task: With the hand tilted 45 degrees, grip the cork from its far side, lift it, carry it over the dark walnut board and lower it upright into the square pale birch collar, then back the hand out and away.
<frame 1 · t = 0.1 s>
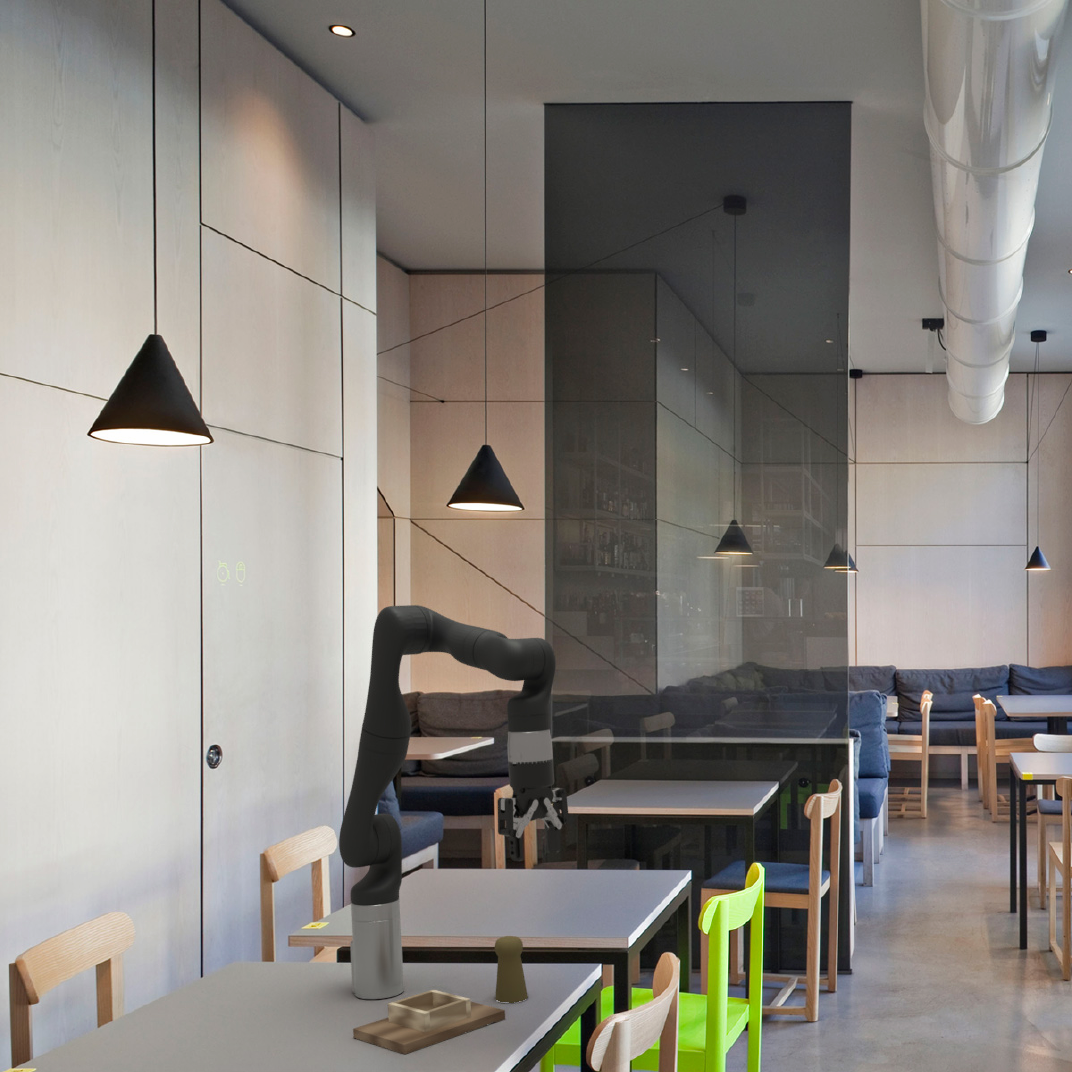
hand: (535, 856, 203), 29 cm above the table, tool pointing down, fingers open, 8 cm apart
collar board: (430, 1028, 209), on the table
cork: (511, 999, 224), on the table
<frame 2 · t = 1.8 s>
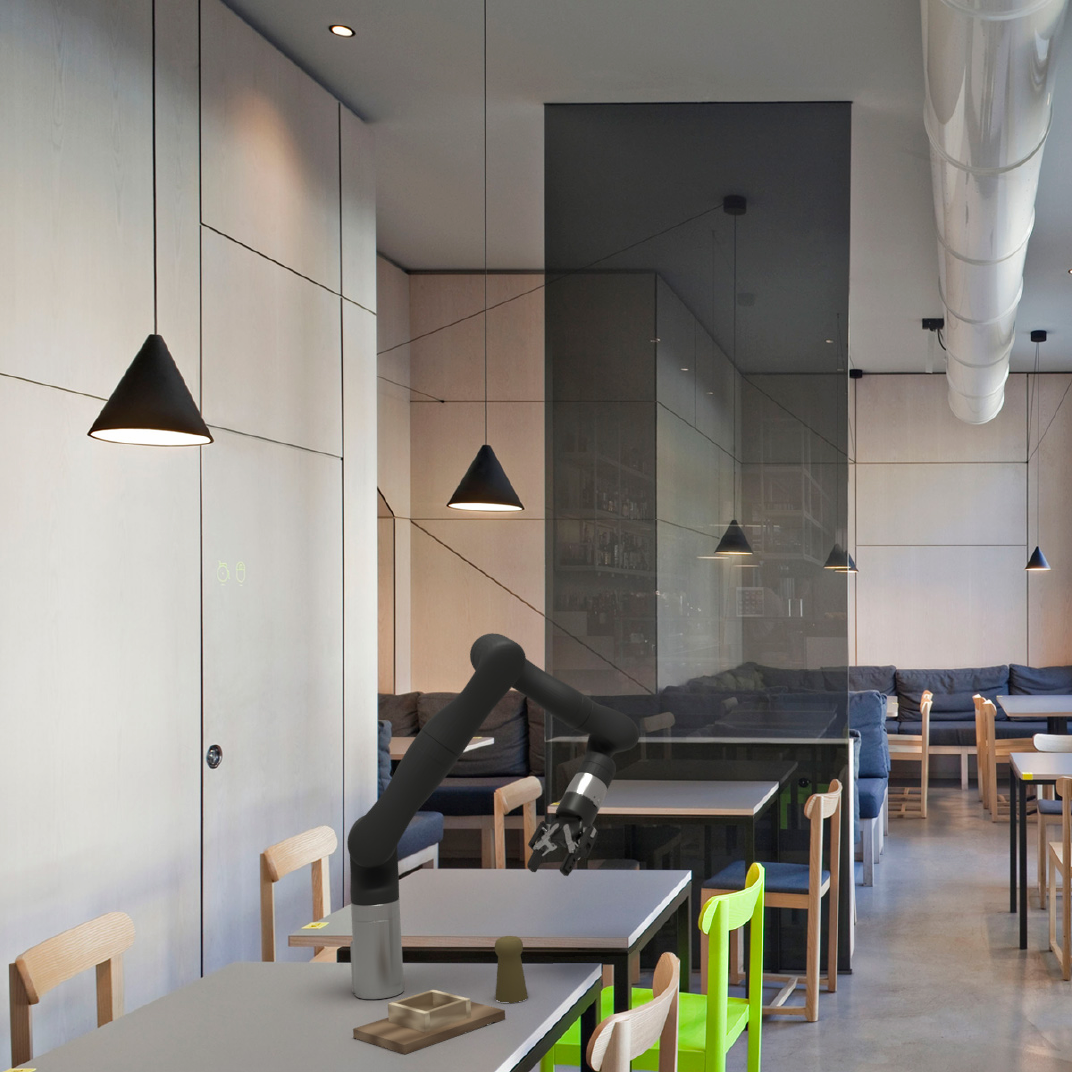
hand: (547, 871, 234), 21 cm above the table, tool tilted 45°, fingers open, 8 cm apart
nothing on the table moved.
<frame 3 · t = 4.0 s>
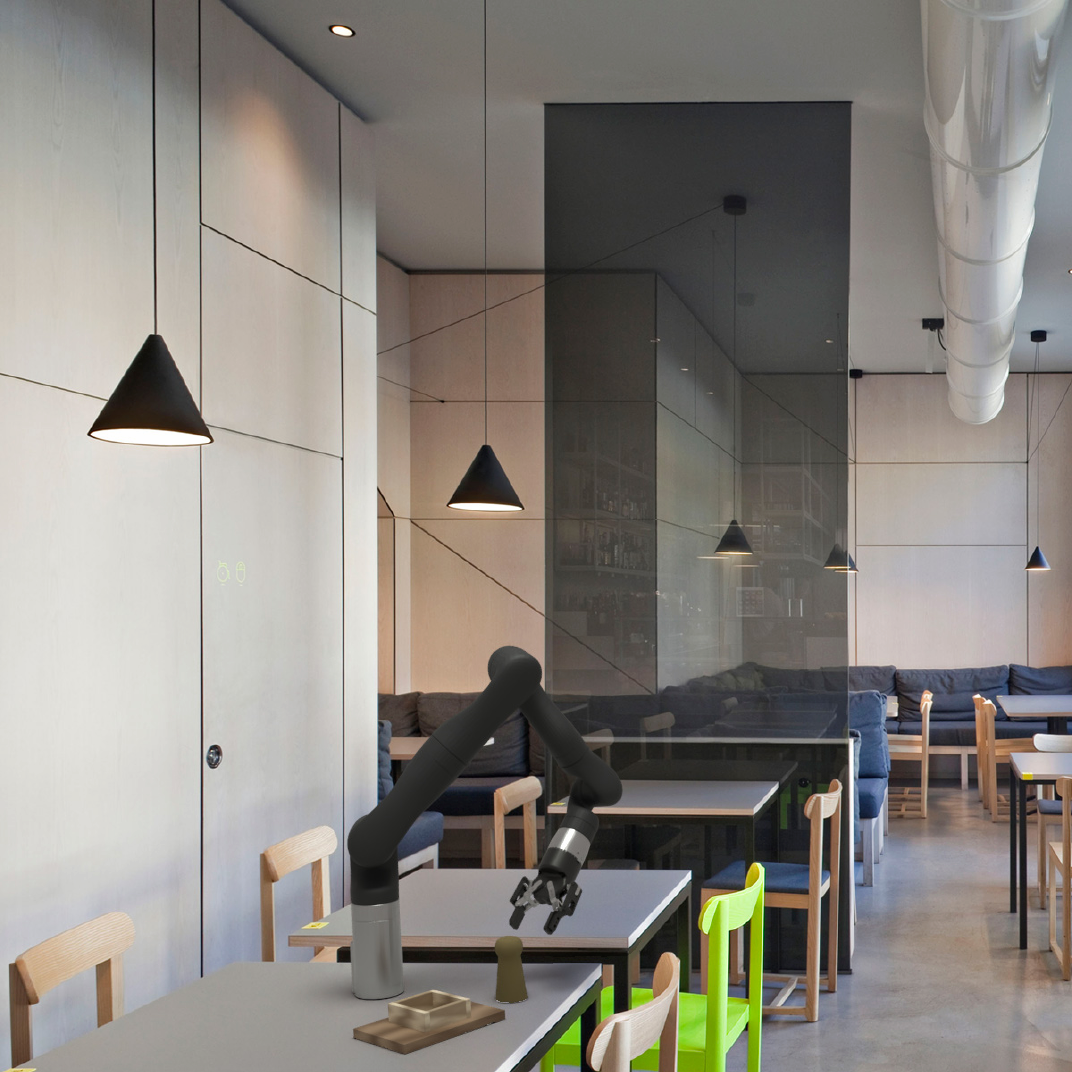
hand: (529, 929, 230), 11 cm above the table, tool tilted 45°, fingers open, 8 cm apart
nothing on the table moved.
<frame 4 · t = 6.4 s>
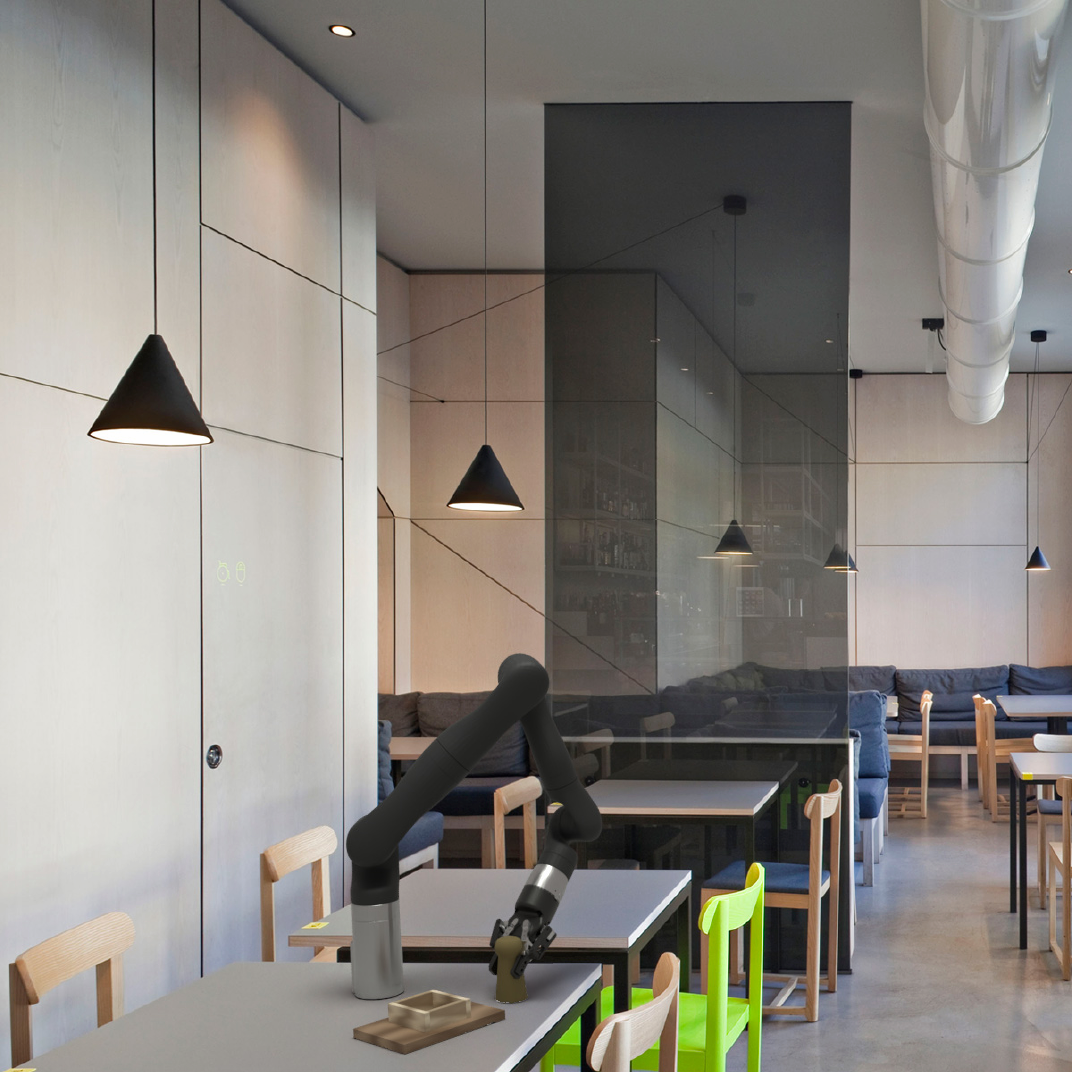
hand: (503, 974, 223), 5 cm above the table, tool tilted 45°, fingers closed on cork, 4 cm apart
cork: (511, 999, 224), on the table, touching gripper
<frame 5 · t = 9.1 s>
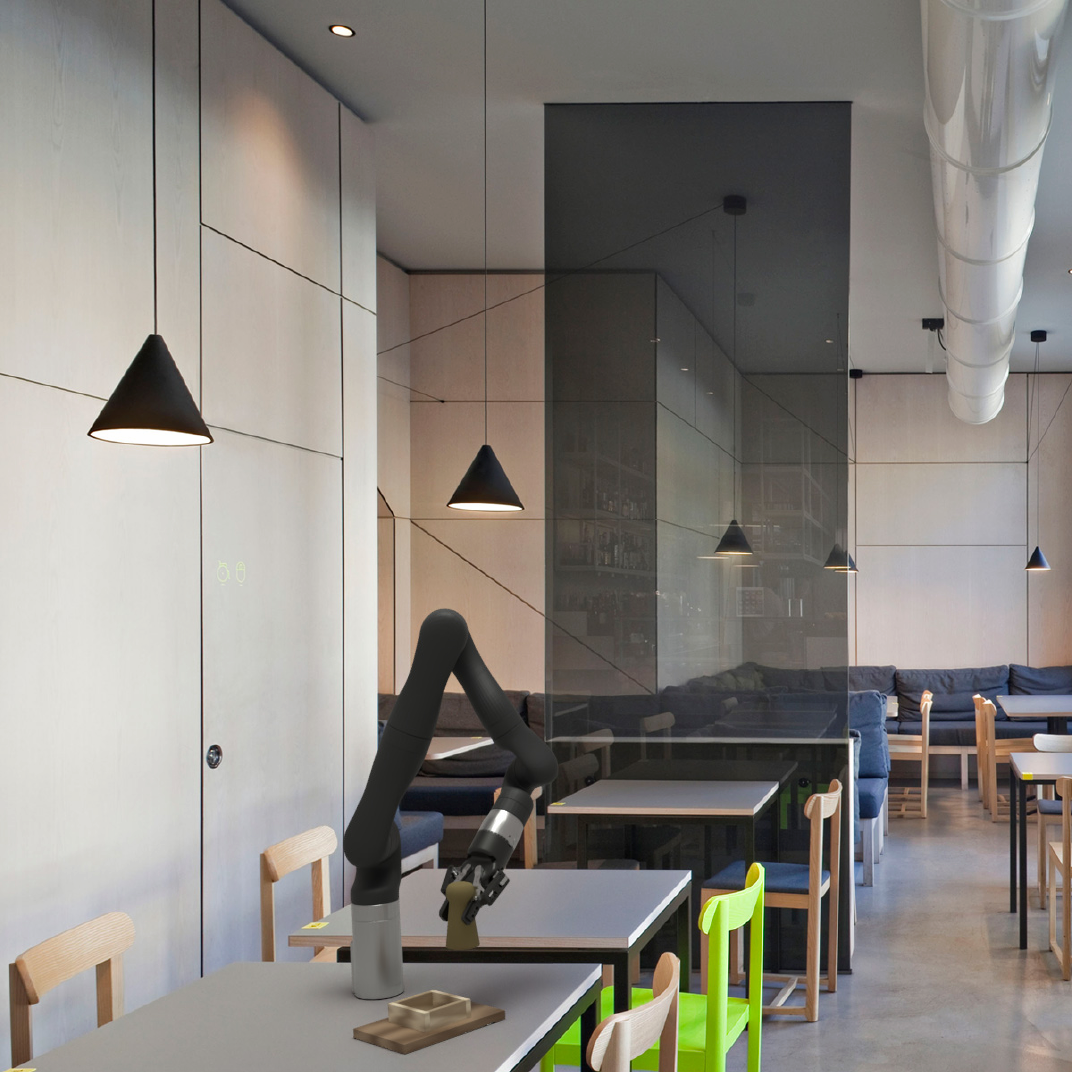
hand: (453, 920, 216), 17 cm above the table, tool tilted 45°, fingers closed on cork, 4 cm apart
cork: (462, 946, 217), point 12 cm above the table, touching gripper
when the fingers open (8 cm above the table, at t = 11.9 s): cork drops 2 cm, resting on collar board.
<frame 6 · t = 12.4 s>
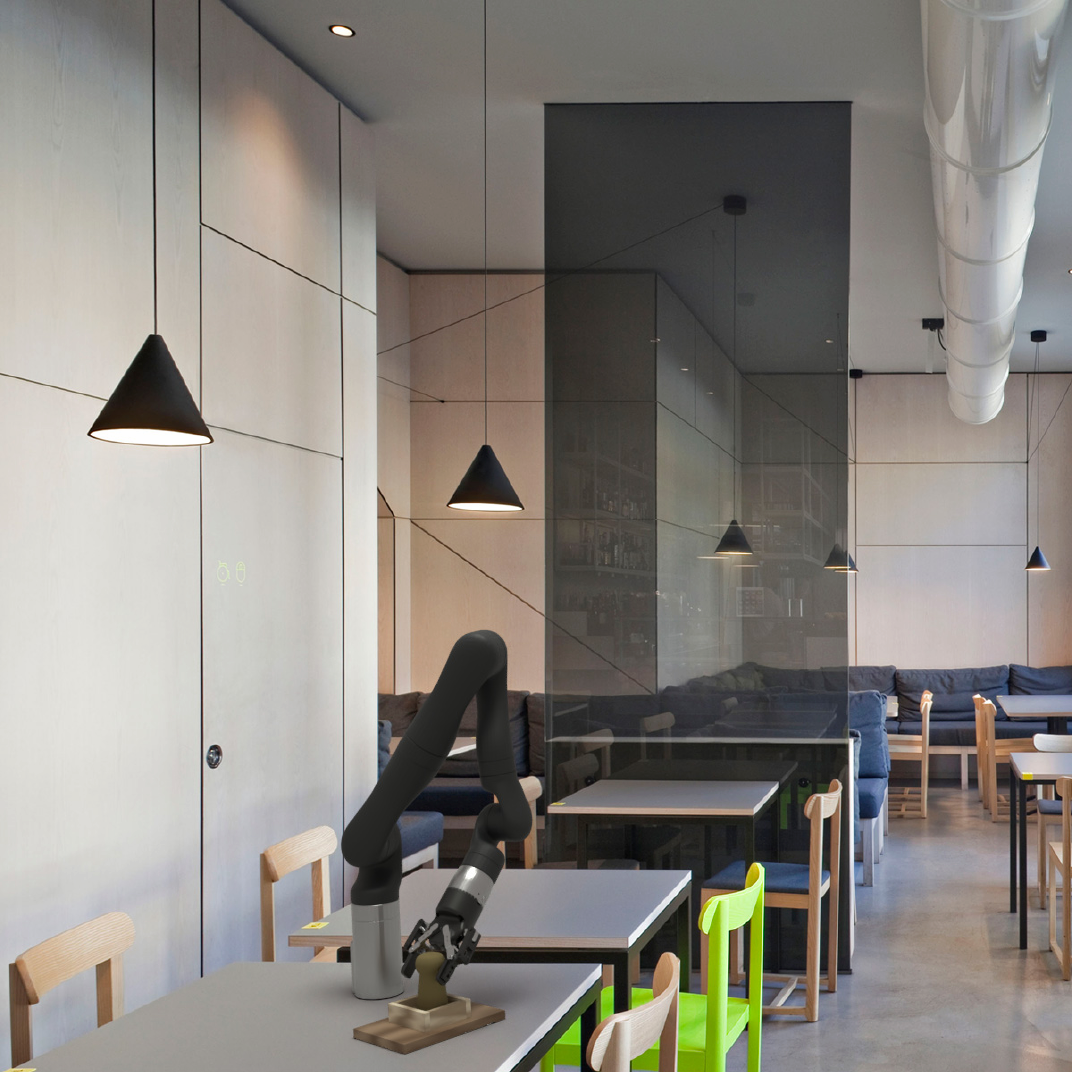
hand: (422, 979, 209), 8 cm above the table, tool tilted 45°, fingers open, 8 cm apart
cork: (433, 1020, 210), point 1 cm above the table, touching collar board
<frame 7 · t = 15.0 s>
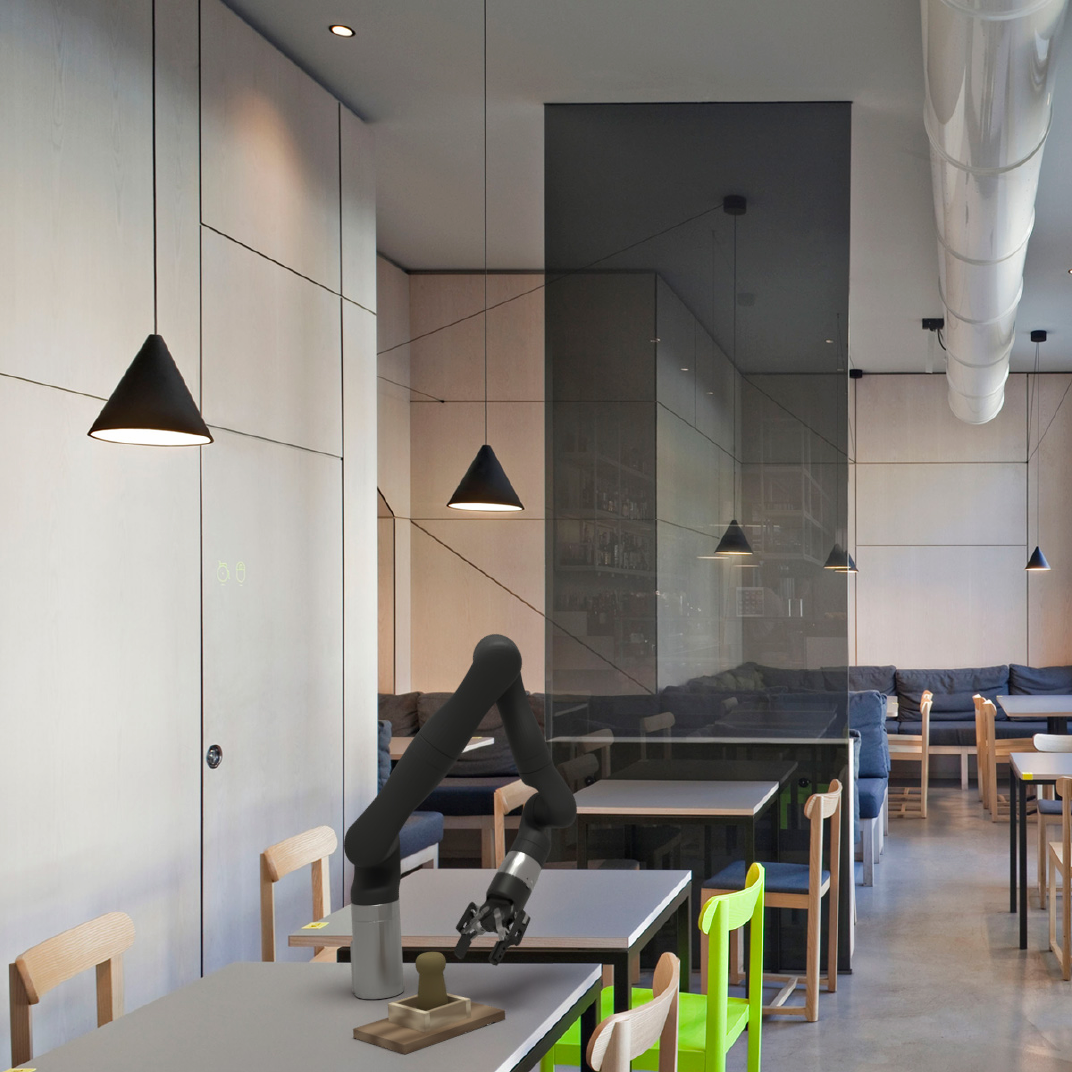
hand: (474, 959, 219), 9 cm above the table, tool tilted 45°, fingers open, 8 cm apart
nothing on the table moved.
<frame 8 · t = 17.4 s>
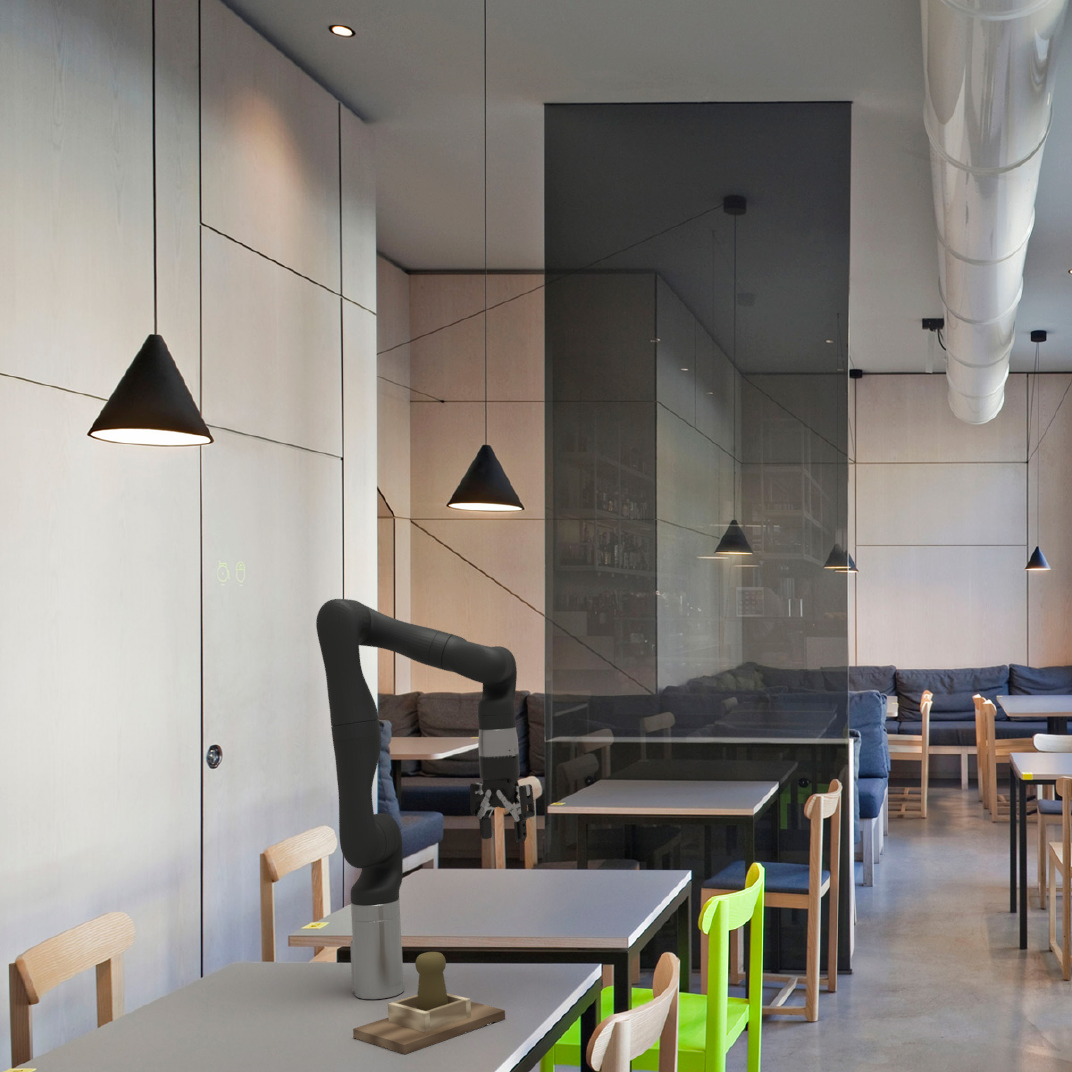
hand: (503, 840, 229), 28 cm above the table, tool pointing down, fingers open, 8 cm apart
nothing on the table moved.
at the end: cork 0.6 cm off-centre on the collar board, point 1.3 cm above the collar board's base; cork tilted 0°; the gripper is holding nothing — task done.
